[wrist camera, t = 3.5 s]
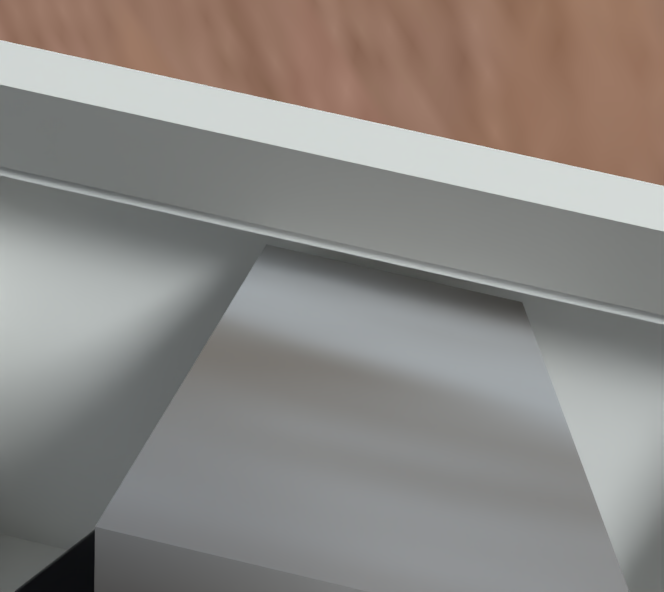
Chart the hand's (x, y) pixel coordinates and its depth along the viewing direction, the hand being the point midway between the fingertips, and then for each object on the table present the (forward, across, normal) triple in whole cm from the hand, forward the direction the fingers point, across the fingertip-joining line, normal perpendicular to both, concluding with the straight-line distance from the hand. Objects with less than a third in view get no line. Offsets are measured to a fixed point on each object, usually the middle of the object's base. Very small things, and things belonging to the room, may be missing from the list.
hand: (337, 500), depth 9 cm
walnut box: (+1, 0, 0) cm, 1 cm away
